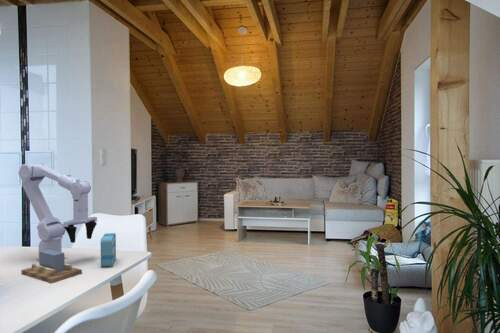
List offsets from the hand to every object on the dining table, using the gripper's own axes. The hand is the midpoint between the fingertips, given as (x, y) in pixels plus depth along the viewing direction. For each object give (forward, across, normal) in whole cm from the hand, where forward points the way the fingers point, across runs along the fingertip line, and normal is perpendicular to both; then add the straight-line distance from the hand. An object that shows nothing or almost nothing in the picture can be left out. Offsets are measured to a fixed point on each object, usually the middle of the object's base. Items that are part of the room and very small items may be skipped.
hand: (81, 240), depth 150 cm
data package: (+10, +5, -12) cm, 16 cm away
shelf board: (+9, -15, -4) cm, 18 cm away
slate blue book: (+8, -15, -4) cm, 18 cm away
